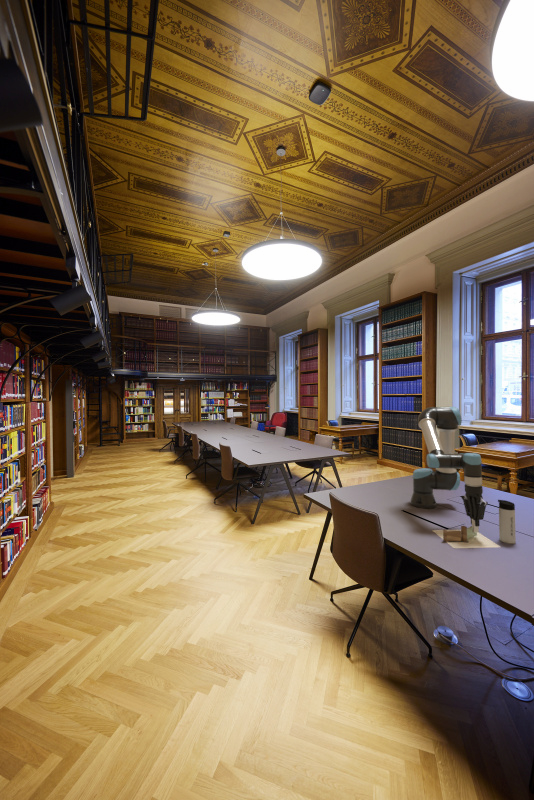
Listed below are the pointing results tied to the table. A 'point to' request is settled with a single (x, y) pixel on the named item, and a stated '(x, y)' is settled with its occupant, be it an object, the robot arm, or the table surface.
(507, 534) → the travel mug
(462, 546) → the card
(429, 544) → the table surface
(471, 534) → the hinged rail
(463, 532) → the fence fixed
